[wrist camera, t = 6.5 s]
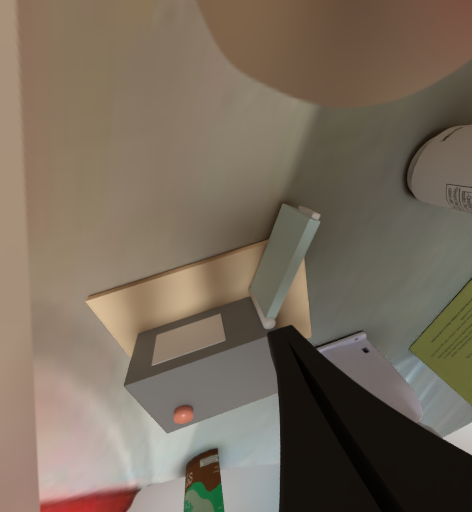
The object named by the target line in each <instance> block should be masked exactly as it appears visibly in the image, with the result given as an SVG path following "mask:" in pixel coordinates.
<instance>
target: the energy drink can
mask: <svg viewBox="0 0 472 512" xmlns="http://www.w3.org/2000/svg"><path fill="white" fill-rule="evenodd" d="M407 184H408V187H409V189H410V190H411V191H412V192H413V194H414V196H415V197H416V198H417V199H418V200H419V201H421V202H424V203H429V204H433V205H438V206H442V207H447V208H451V209H456V210H460V211H464V212H469V213H472V125H463V126H455V127H452V128H449V129H447V130H445V131H443V132H442V133H440V134H439V135H438V136H436V137H434V138H432V139H430V140H429V141H427V142H426V143H425V144H424V145H423V146H422V147H421V148H420V149H419V150H418V152H417V153H416V154H415V156H414V158H413V159H412V161H411V164H410V166H409V169H408V174H407Z"/></svg>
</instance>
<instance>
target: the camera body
mask: <svg viewBox="0 0 472 512" xmlns="http://www.w3.org/2000/svg"><path fill="white" fill-rule="evenodd" d="M281 328H282V327H281ZM278 329H279V328H278ZM273 330H276V328H275V326H274V327H273V328H271V329H265V328H264V327H263V324H262V322H261V320H260V317H259V315H258V313H257V310H256V308H255V306H254V303H253V301H252V298H251V296H249V297H246V298H243V299H240V300H237V301H234V302H231V303H228V304H225V305H222V306H219V307H216V308H213V309H210V310H207V311H204V312H201V313H198V314H195V315H192V316H189V317H186V318H183V319H180V320H177V321H174V322H171V323H168V324H165V325H162V326H159V327H156V328H153V329H151V330H148V331H145V332H142V333H139V334H138V335H137V339H136V343H135V346H134V350H133V354H132V357H131V361H130V365H129V368H128V372H127V376H126V379H125V383H124V387H125V388H126V390H127V391H128V392H129V393H130V394H131V395H132V396H133V397H134V398H135V399H136V400H137V401H138V403H139V404H140V405H141V406H142V407H143V408H144V409H145V410H146V411H147V412H148V413H149V414H150V416H151V417H152V418H153V419H154V420H155V421H156V422H157V423H158V424H159V425H160V426H161V427H162V429H163V430H164V431H165V432H166V433H170V432H173V431H175V430H178V429H181V428H183V427H186V426H189V425H192V424H194V423H197V422H200V421H202V420H205V419H208V418H211V417H213V416H216V415H219V414H221V413H224V412H227V411H230V410H232V409H235V408H238V407H240V406H243V405H246V404H249V403H251V402H254V401H257V400H259V399H262V398H265V397H268V396H270V395H273V394H276V393H278V385H277V375H276V371H275V367H274V364H273V361H272V358H271V354H270V349H269V344H268V339H267V333H268V332H270V331H273Z"/></svg>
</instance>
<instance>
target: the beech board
mask: <svg viewBox="0 0 472 512" xmlns="http://www.w3.org/2000/svg"><path fill="white" fill-rule="evenodd" d="M268 241H269V239H268V240H265V241H262V242H259V243H256V244H253V245H249V246H246V247H243V248H240V249H237V250H234V251H231V252H227V253H224V254H221V255H218V256H215V257H212V258H209V259H206V260H202V261H199V262H196V263H193V264H190V265H187V266H184V267H180V268H177V269H174V270H171V271H168V272H165V273H162V274H158V275H155V276H152V277H149V278H146V279H143V280H140V281H136V282H133V283H130V284H127V285H124V286H121V287H118V288H115V289H111V290H108V291H105V292H102V293H99V294H96V295H93V296H89V297H88V298H87V300H86V302H87V304H88V305H89V306H90V307H91V309H92V310H93V311H94V313H95V314H96V315H97V316H98V318H99V319H100V320H101V321H102V323H103V324H104V325H105V326H106V328H107V329H108V330H109V331H110V333H111V334H112V335H113V336H114V338H115V339H116V340H117V341H118V343H119V344H120V345H121V346H122V348H123V349H124V350H125V351H126V353H127V354H128V355H129V356H130V358H131V357H132V354H133V350H134V346H135V343H136V339H137V335H138V334H139V333H142V332H145V331H148V330H151V329H153V328H156V327H159V326H162V325H165V324H168V323H171V322H174V321H177V320H180V319H183V318H186V317H189V316H192V315H195V314H198V313H201V312H204V311H207V310H210V309H213V308H216V307H219V306H222V305H225V304H228V303H231V302H234V301H237V300H240V299H243V298H246V297H249V296H250V294H249V288H250V287H251V285H252V283H253V280H254V277H255V275H256V272H257V270H258V267H259V264H260V262H261V259H262V256H263V254H264V251H265V249H266V246H267V243H268ZM275 321H276V325H275V328H276V329H278V328H281V327H285V326H289V325H293V326H294V327H295V328H296V329H297V330H298V331H299V332H300V333H301V334H302V335H303V336H304V337H305V338H306V339H307V338H310V337H312V335H311V324H310V314H309V304H308V293H307V283H306V272H305V262H304V258H303V260H302V263H301V265H300V267H299V269H298V271H297V273H296V275H295V278H294V280H293V282H292V284H291V286H290V288H289V290H288V292H287V295H286V297H285V299H284V301H283V303H282V305H281V307H280V310H279V312H278V314H277V316H276V318H275Z"/></svg>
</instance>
